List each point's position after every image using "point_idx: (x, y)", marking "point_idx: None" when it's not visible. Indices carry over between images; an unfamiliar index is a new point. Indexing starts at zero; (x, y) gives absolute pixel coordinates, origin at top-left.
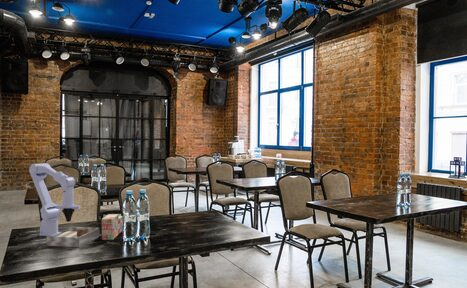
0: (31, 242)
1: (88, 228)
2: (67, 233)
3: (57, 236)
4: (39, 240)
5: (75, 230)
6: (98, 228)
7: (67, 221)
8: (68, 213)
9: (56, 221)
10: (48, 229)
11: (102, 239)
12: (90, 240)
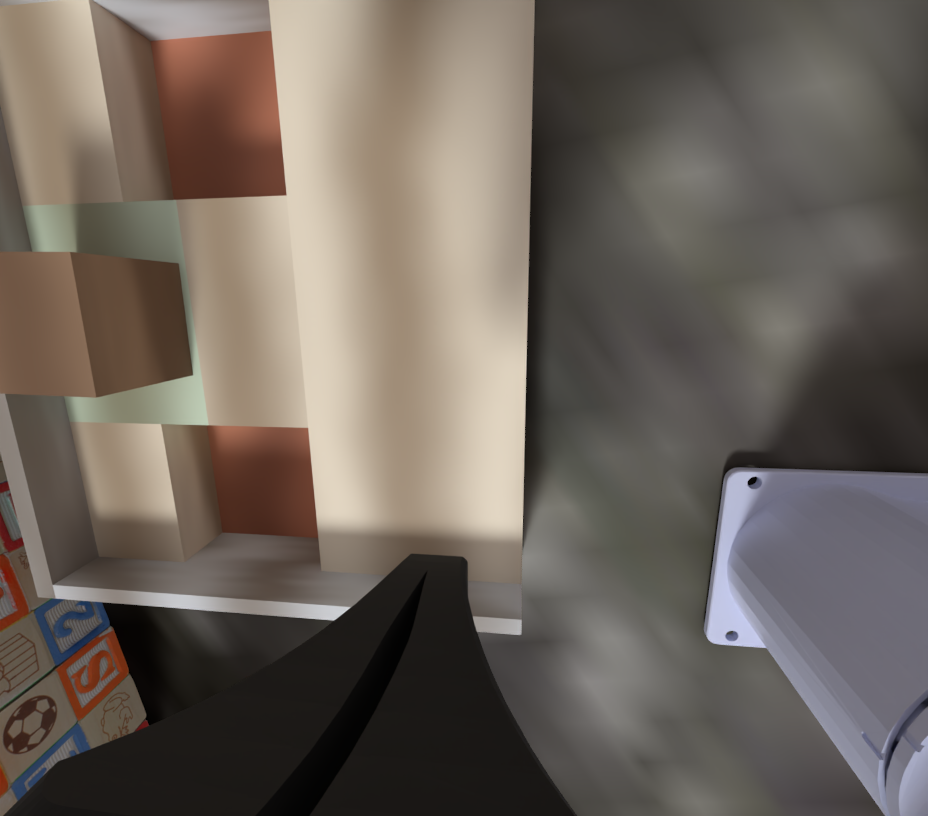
0: (911, 108)
1: (198, 587)
2: (440, 413)
3: (489, 210)
4: (831, 245)
5: None
6: (32, 572)
7: (435, 556)
8: (241, 707)
9: (861, 721)
10: (890, 527)
11: None
12: None
